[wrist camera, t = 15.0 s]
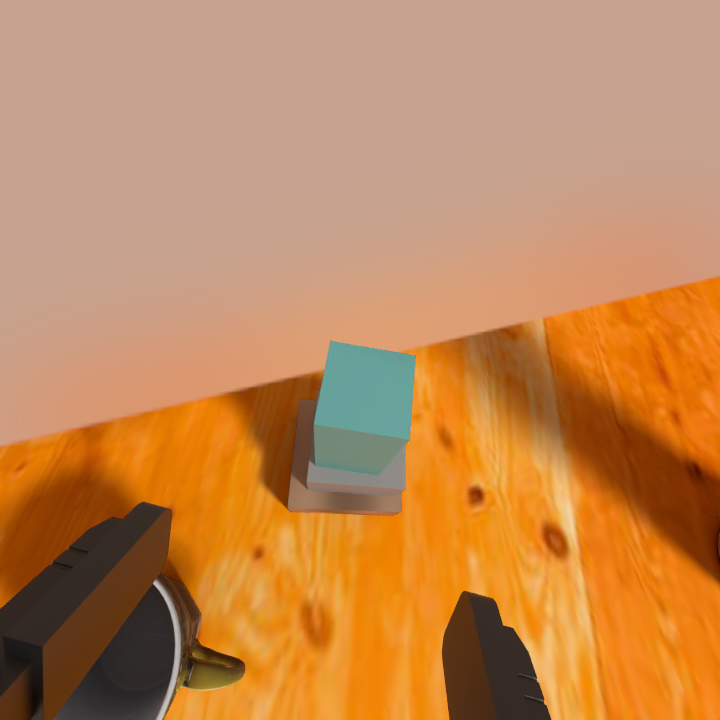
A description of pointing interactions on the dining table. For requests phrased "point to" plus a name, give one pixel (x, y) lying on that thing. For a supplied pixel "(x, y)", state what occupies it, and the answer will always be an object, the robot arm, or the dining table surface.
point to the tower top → (357, 476)
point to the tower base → (326, 500)
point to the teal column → (363, 408)
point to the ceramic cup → (151, 661)
